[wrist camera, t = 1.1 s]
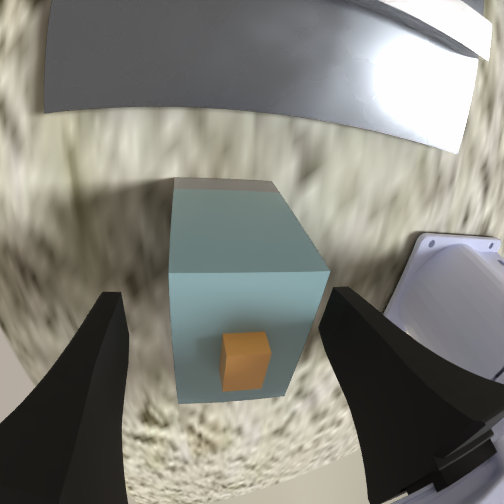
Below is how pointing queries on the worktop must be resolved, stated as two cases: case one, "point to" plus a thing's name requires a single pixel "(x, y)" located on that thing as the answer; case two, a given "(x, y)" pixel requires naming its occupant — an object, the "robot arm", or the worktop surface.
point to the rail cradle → (275, 59)
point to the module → (238, 289)
